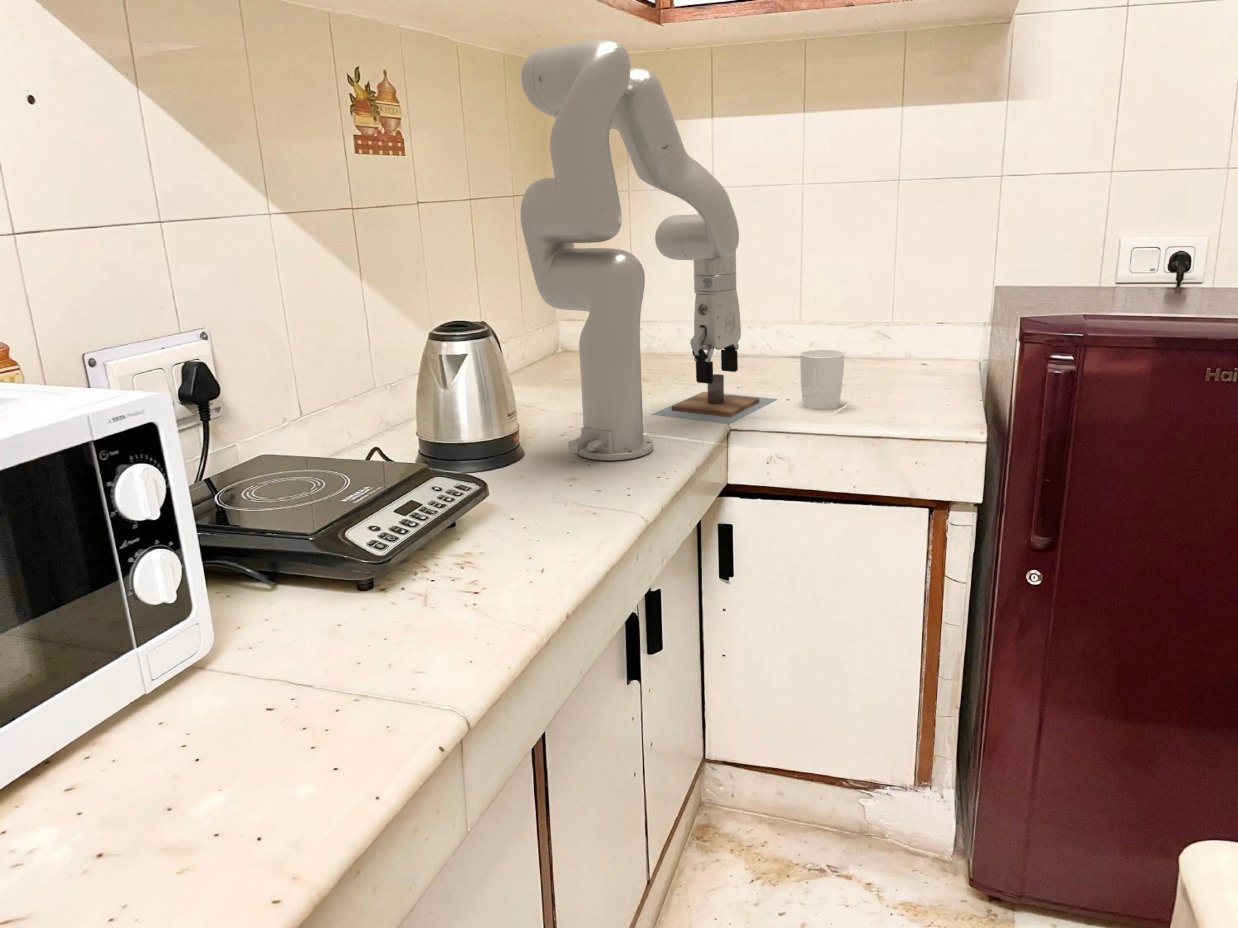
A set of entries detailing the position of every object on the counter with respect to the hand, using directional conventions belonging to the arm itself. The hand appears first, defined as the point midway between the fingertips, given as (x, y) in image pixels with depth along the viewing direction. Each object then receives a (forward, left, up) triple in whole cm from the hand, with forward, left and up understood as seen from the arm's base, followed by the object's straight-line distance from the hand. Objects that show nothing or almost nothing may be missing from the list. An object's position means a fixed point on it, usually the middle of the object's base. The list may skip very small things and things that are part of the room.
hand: (717, 376), depth 169 cm
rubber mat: (-1, 0, -6) cm, 6 cm away
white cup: (+8, -17, -6) cm, 20 cm away
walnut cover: (-1, 0, -6) cm, 6 cm away
